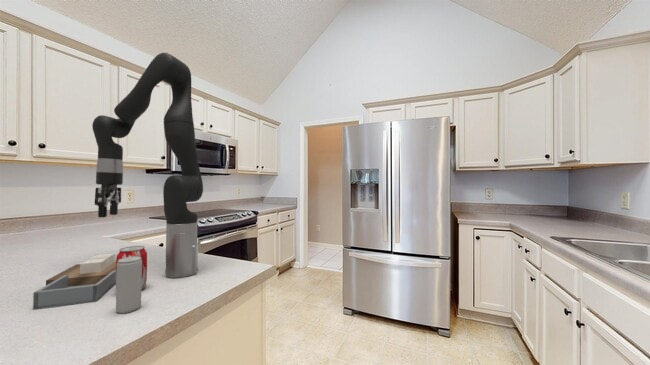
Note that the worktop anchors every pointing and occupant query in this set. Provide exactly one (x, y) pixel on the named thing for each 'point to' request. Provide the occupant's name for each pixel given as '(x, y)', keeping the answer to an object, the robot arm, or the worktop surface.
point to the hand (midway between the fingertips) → (108, 215)
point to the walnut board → (82, 276)
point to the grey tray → (71, 292)
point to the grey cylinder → (128, 284)
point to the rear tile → (110, 257)
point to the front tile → (93, 265)
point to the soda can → (133, 252)
